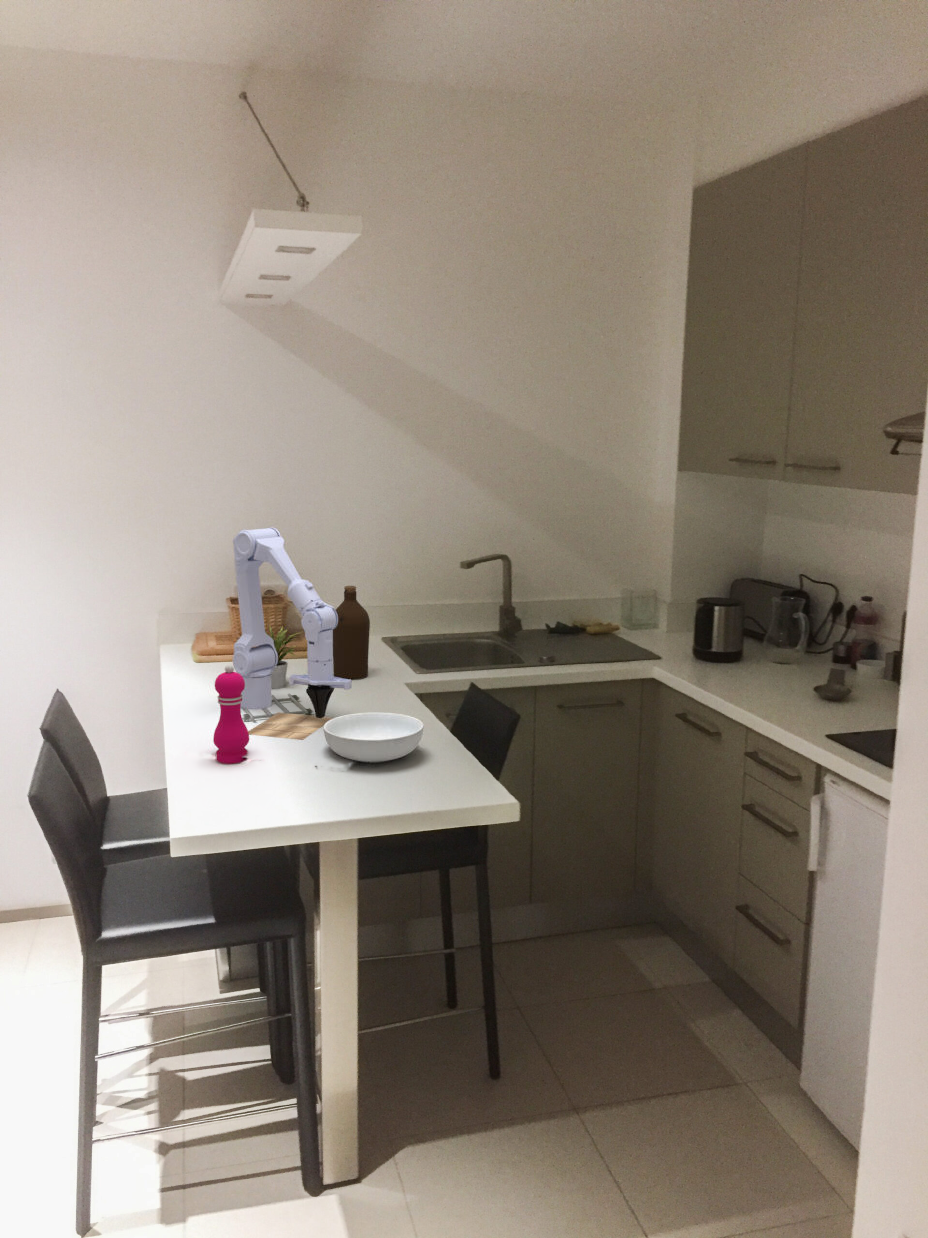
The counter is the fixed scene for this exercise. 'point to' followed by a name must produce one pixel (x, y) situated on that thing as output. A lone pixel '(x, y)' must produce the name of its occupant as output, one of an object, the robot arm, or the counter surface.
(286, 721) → the click plank
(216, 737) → the pepper mill
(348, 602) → the olive oil
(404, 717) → the serving bowl
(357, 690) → the counter surface
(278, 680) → the house plant
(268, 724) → the laid floor boards
